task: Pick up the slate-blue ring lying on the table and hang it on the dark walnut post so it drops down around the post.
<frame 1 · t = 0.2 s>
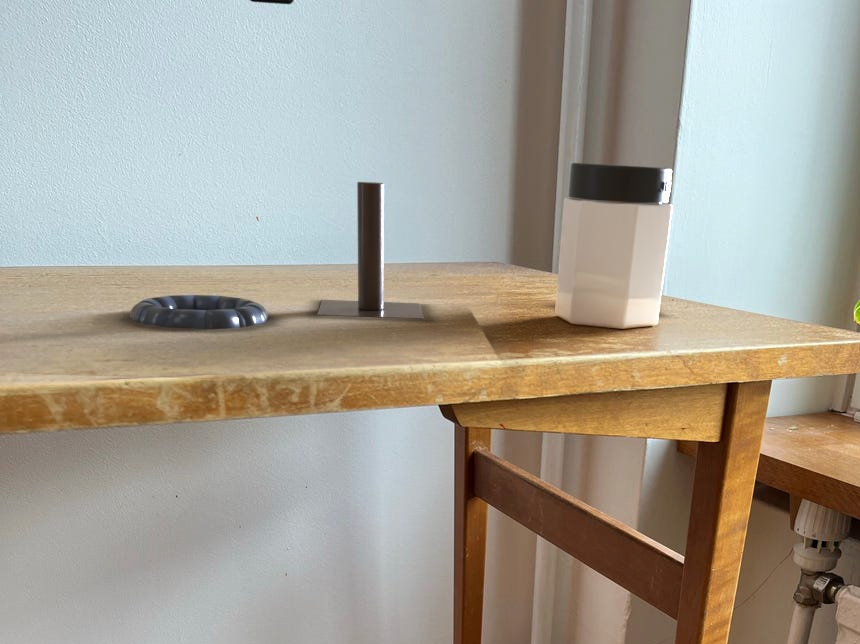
post: (370, 321, 77), on the table
ring: (200, 317, 69), point 1 cm above the table
jar: (605, 323, 84), on the table
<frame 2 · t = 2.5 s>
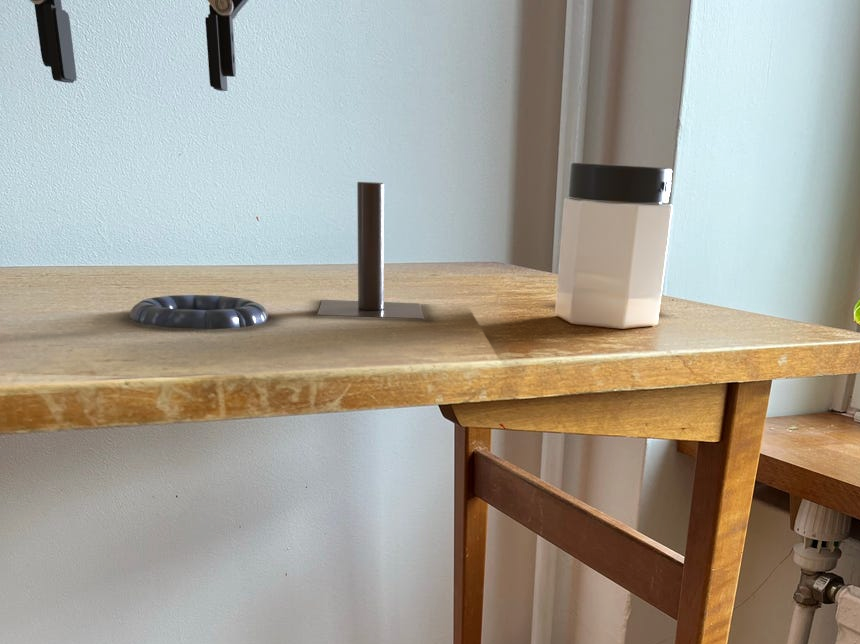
hand: (142, 85, 63), 15 cm above the table, tool pointing down, fingers open, 9 cm apart
nothing on the table moved.
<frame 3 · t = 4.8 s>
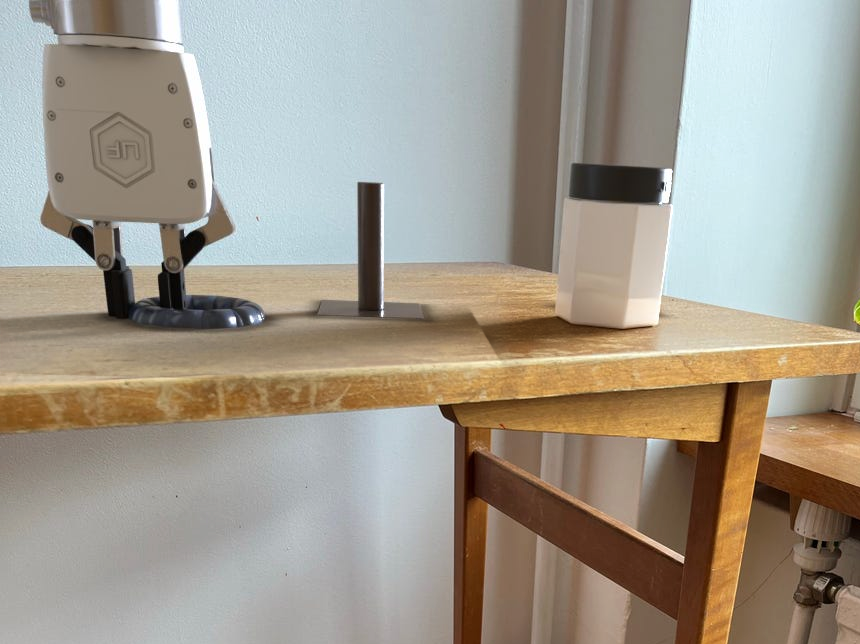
hand: (149, 327, 69), 0 cm above the table, tool pointing down, fingers closed on ring, 2 cm apart
ring: (197, 316, 69), point 1 cm above the table, touching gripper
everything else where it was.
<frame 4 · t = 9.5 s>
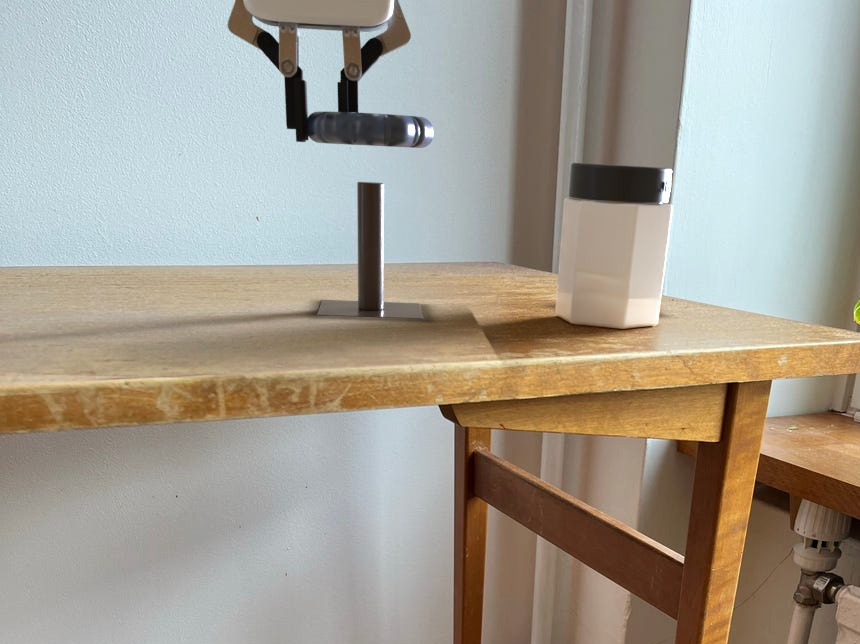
hand: (323, 140, 71), 13 cm above the table, tool pointing down, fingers closed on ring, 2 cm apart
ring: (370, 130, 71), point 13 cm above the table, touching gripper
everything else where it was.
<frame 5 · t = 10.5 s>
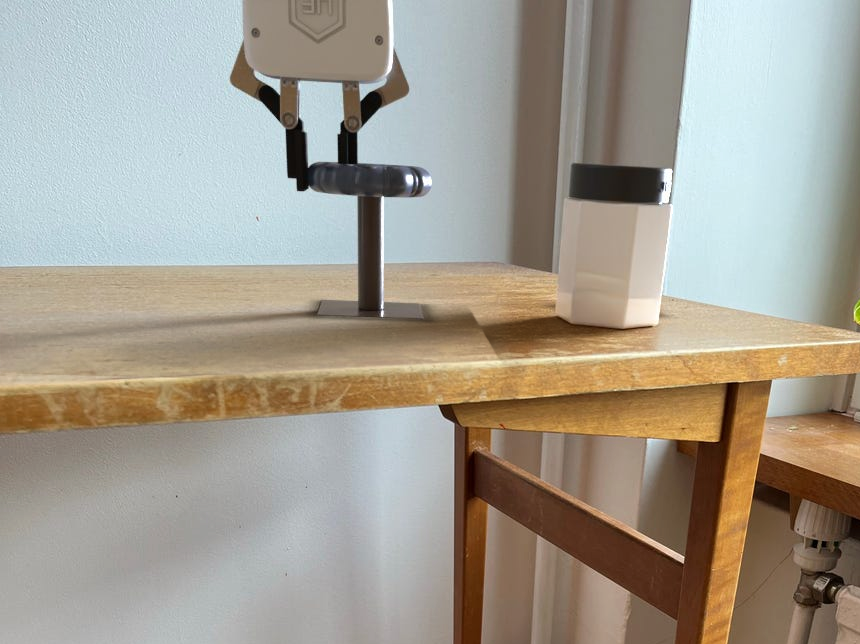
hand: (323, 189, 73), 9 cm above the table, tool pointing down, fingers closed on ring, 2 cm apart
ring: (369, 179, 73), point 10 cm above the table, touching gripper
everything else where it was.
when the fingers open (11 cm above the table, at t = 14.2 s): ring drops 10 cm, resting on post.
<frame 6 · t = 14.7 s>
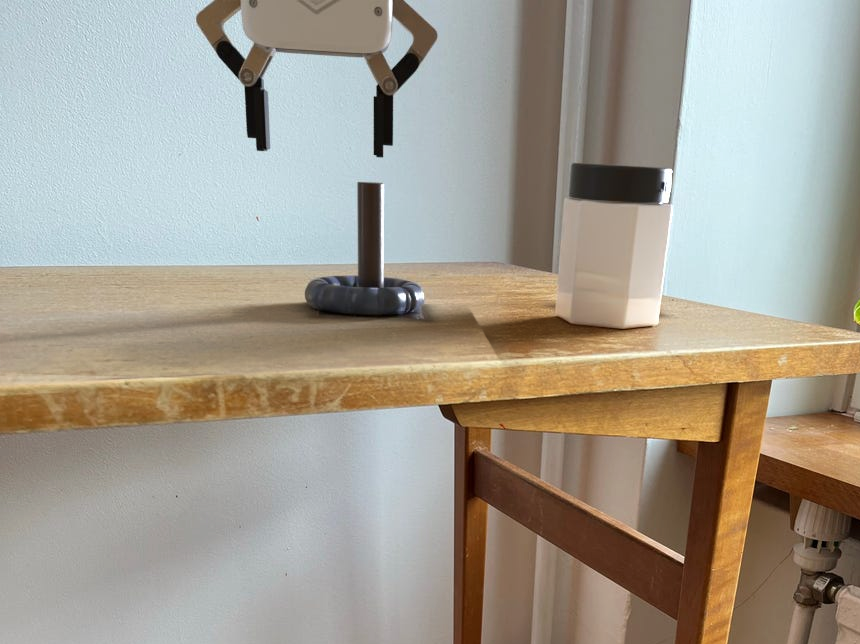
hand: (321, 152, 72), 12 cm above the table, tool pointing down, fingers open, 7 cm apart
ring: (365, 295, 76), point 2 cm above the table, touching post
everything else where it was.
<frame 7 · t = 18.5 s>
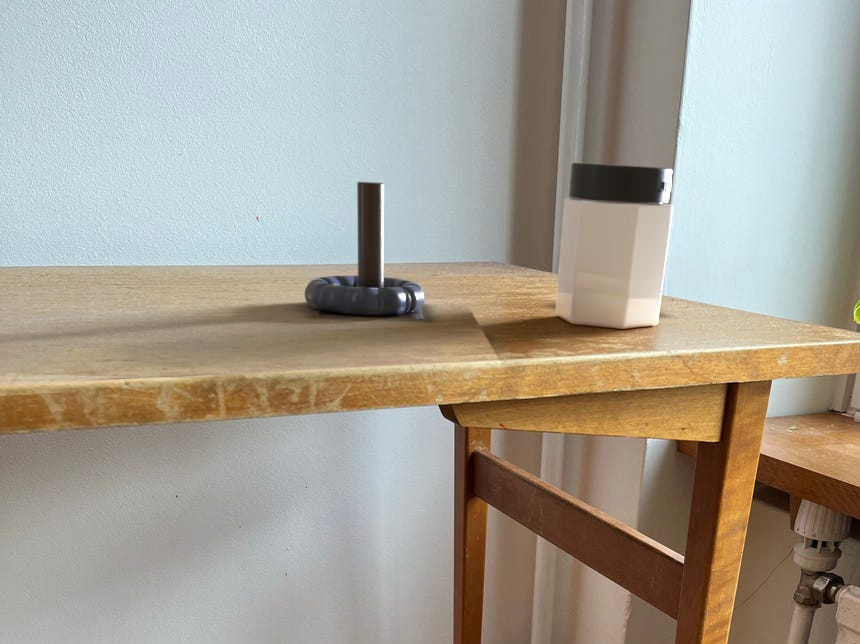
nothing on the table moved.
at the end: ring 0.5 cm from the post (horizontally); ring point 2.0 cm above the table; the gripper is holding nothing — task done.
